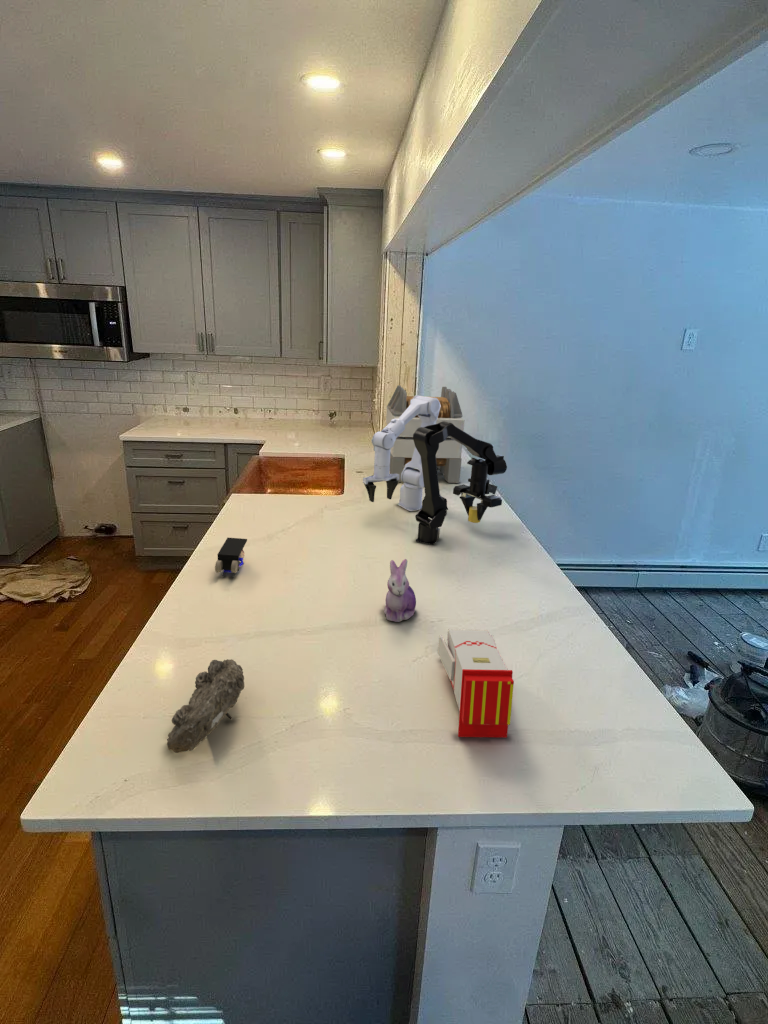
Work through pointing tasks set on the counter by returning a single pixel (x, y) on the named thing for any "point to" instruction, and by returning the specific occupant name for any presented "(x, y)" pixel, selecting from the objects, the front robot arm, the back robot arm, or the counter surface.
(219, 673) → the fossil
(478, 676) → the toy
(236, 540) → the black wheeled block
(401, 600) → the figurine
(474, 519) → the cylinder
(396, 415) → the transformer
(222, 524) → the counter surface
